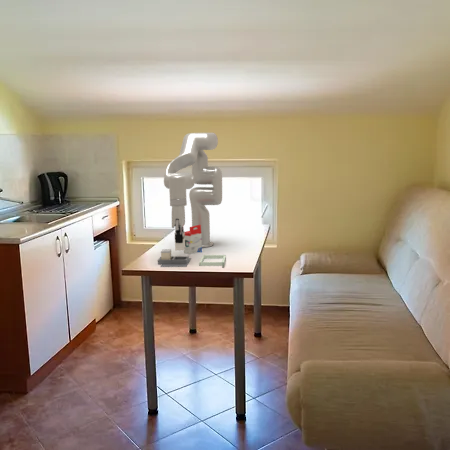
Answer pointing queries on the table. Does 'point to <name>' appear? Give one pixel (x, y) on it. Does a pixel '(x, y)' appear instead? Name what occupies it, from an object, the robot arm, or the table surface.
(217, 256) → the parts tray
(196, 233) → the ink box
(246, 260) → the table surface
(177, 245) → the grey rectangular block
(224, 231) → the table surface
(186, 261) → the block
